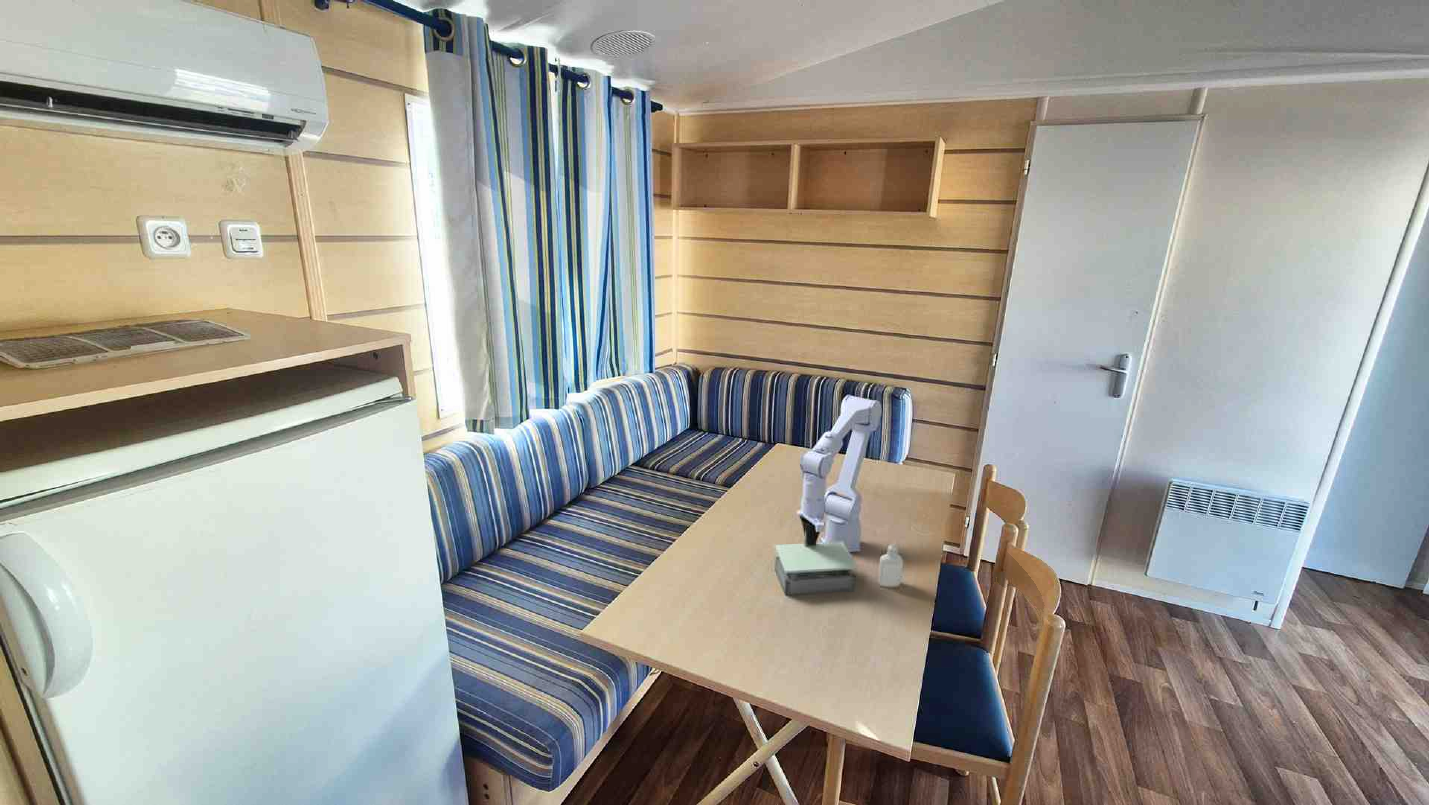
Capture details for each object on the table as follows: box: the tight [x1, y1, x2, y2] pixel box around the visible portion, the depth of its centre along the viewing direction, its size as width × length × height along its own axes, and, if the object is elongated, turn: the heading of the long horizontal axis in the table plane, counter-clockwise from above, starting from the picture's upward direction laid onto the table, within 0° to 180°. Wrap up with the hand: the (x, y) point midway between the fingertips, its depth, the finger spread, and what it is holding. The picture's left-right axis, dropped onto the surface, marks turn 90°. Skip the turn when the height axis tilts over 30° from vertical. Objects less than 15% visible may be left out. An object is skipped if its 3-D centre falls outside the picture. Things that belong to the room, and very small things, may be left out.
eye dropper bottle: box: [877, 541, 904, 588], centre depth 147 cm, size 4×6×12 cm
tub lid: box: [774, 531, 859, 573], centre depth 148 cm, size 19×12×5 cm, turn 97°
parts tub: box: [774, 556, 856, 596], centre depth 149 cm, size 18×11×4 cm, turn 97°
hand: (810, 542), depth 152 cm, fingers closed on tub lid
